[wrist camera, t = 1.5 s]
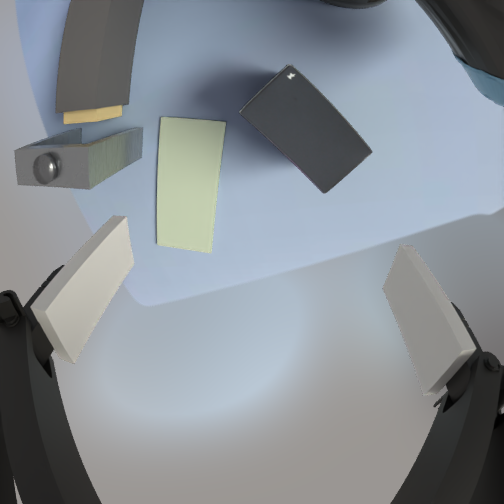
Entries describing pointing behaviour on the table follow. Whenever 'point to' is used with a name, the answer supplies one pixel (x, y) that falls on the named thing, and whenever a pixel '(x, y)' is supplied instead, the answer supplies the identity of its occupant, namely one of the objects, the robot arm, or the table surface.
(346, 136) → the small box
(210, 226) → the mat
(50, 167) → the frame
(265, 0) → the table surface
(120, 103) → the plug
